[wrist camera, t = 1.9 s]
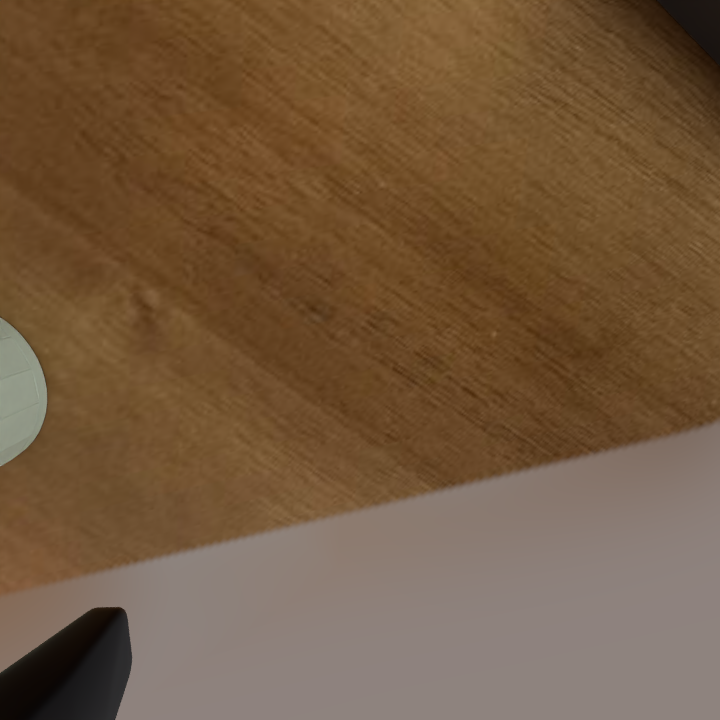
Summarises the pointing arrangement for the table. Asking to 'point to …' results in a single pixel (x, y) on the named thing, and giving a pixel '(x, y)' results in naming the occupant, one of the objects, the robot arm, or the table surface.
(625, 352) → the table surface
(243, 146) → the table surface
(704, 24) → the scale
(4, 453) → the jar
